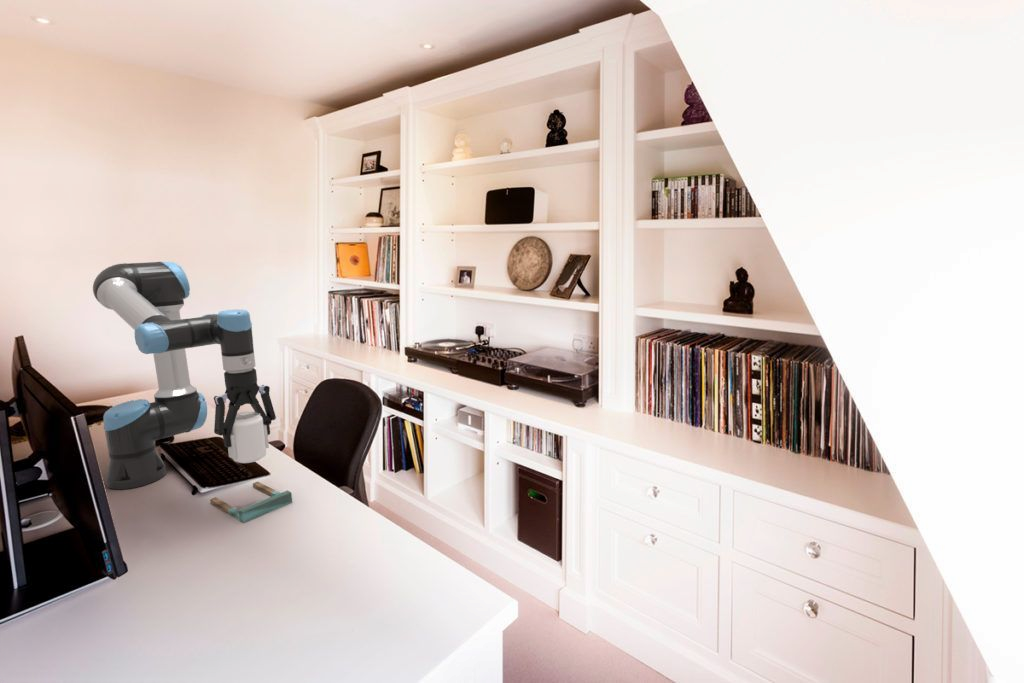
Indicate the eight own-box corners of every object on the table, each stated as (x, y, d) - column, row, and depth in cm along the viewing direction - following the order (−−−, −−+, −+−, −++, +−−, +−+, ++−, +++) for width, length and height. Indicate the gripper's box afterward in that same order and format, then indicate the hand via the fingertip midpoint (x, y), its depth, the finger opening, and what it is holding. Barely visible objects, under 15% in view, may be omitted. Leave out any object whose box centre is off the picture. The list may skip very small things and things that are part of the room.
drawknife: (210, 503, 150) (209, 493, 149) (258, 485, 160) (257, 475, 160) (243, 523, 139) (242, 512, 138) (292, 502, 150) (291, 492, 149)
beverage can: (253, 465, 141) (248, 421, 139) (226, 463, 143) (220, 419, 140) (273, 453, 149) (268, 411, 147) (246, 451, 150) (242, 410, 148)
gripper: (204, 380, 131) (215, 469, 135) (285, 363, 147) (292, 443, 151) (190, 376, 135) (202, 462, 139) (270, 360, 151) (278, 437, 156)
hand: (249, 452), depth 145 cm, fingers closed on beverage can, 8 cm apart
